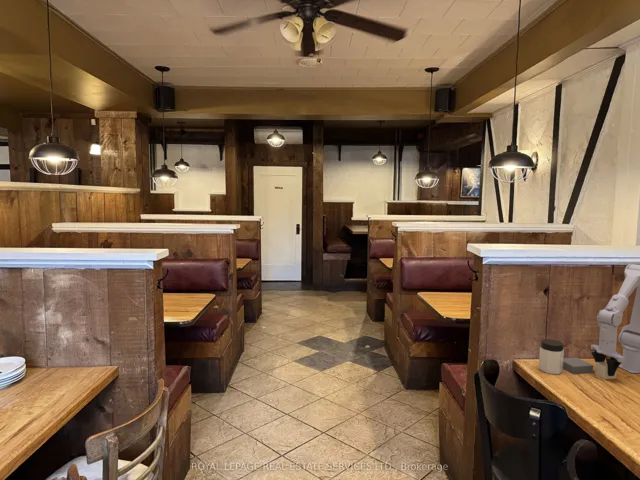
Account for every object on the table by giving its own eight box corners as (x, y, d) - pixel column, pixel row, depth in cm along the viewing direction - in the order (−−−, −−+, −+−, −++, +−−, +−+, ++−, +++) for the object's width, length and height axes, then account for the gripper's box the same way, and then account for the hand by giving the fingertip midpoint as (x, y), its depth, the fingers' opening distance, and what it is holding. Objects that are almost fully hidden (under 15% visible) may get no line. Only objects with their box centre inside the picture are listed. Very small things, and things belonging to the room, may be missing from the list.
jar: (557, 376, 167) (559, 347, 166) (536, 370, 173) (537, 342, 172) (564, 370, 173) (566, 342, 172) (543, 364, 179) (545, 337, 178)
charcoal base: (576, 365, 180) (576, 357, 179) (592, 373, 171) (593, 365, 170) (557, 366, 178) (557, 358, 178) (572, 375, 170) (573, 366, 169)
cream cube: (605, 373, 170) (606, 361, 170) (615, 378, 165) (616, 366, 165) (594, 374, 170) (595, 362, 169) (604, 379, 165) (605, 367, 164)
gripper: (584, 334, 173) (582, 366, 174) (613, 346, 158) (611, 381, 160) (600, 333, 174) (598, 365, 175) (630, 345, 159) (627, 380, 161)
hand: (605, 372), depth 167 cm, fingers closed on cream cube, 5 cm apart
